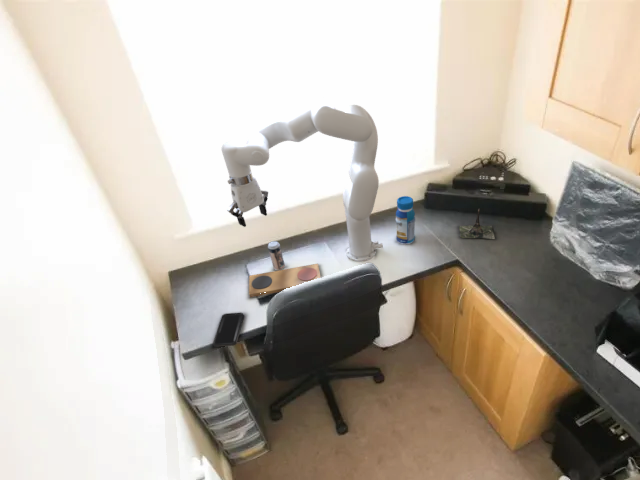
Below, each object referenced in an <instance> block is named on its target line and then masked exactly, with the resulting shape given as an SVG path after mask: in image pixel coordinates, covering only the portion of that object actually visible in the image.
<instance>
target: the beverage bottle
mask: <svg viewBox="0 0 640 480" xmlns="http://www.w3.org/2000/svg"><path fill="white" fill-rule="evenodd" d="M396 207H397V209H396V211H395V228H396V229H395V231H396V237H395V239H396V241H397V243H398V244H401V245H410V244H412V243H414V241H415V240H416V235H415V227H416V226H415V225H416V217H415V215H416V213H415V210H414V208H413V207H414V199H413V198H412V197H411V196H408V195H404V196H399V197H398V198H397V199H396Z"/></svg>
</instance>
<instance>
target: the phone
mask: <svg viewBox="0 0 640 480" xmlns="http://www.w3.org/2000/svg"><path fill="white" fill-rule="evenodd" d="M244 318H245V315H244V313H243V312H232V313H231V312H230V313H223V314H222V315H221V318H220V321H219V324H218V327H217V330H216V333H215V336H214V339H213V342H212V344H213V346H214V347H215V348H219V347H221V348H222V347H232V346H233V347H234V346H236V345H237V343H238V340H239V338H240V333H241V329H242V326H243V321H244Z"/></svg>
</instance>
